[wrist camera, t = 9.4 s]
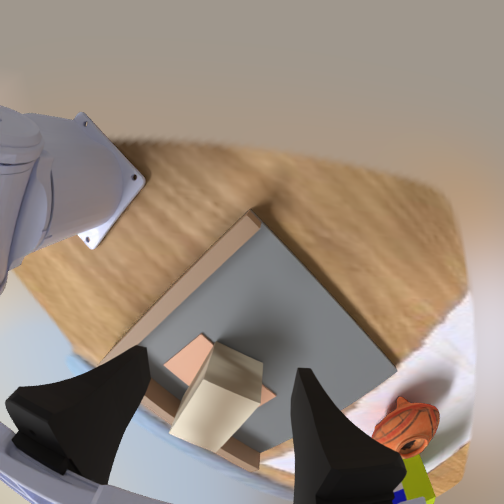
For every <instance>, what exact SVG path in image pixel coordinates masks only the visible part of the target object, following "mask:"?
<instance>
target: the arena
mask: <svg viewBox="0 0 504 504" xmlns="http://www.w3.org/2000/svg"><path fill="white" fill-rule="evenodd" d="M216 341H217V342H219V343H221V344H223V345H225V346H227V347H229V348H231V349H234V350H236V351H238V352H240V353H242V354H244V355H246V356H248V357H251V358H253V359H255V360H257V361H260V362H262V363H263V375H262V391H261V404H260V405H259V406H258V407H257V409H256V410H255V411H254V412H253V413H252V414H251V415H250V416H249V418H248V419H247V420H246V421H245V422H244V423H243V424H242V425H241V426H240V428H239V429H238V430H237V431H236V432H235V433H234V434H233V435H232V436H231V437H230V438H229V439H228V440H227V441H226V442H225V444H224V445H223V446H222V447H221V448H220V449H219V450H218V451H217V452H216V454H218V455H219V456H221V457H223V458H225V459H227V460H228V461H230V462H232V463H234V464H236V465H238V466H239V467H241V468H243V469H245V470H247V471H249V472H254V471H256V470H259V463H260V453H261V452H264V451H266V450H268V449H270V448H272V447H274V446H277V445H279V444H281V443H283V442H285V441H287V440H289V439H291V438H293V434H292V426H291V417H290V409H291V395H292V391H293V386H294V382H295V377H296V373H297V368H311V369H312V371H313V372H314V374H315V376H316V377H317V379H318V381H319V382H320V384H321V386H322V387H323V389H324V390H325V391H326V393H327V394H328V396H329V397H330V398H331V400H332V401H333V402H334V404H335V405H336V406H337V407H338V408H339V410H340V411H341V410H342V409H344V408H346V407H347V406H349V405H350V404H352V403H353V402H355V401H356V400H358V399H359V398H361V397H362V396H364V395H365V394H367V393H368V392H370V391H371V390H373V389H374V388H375V387H377V386H378V385H380V384H381V383H382V382H384V381H385V380H387V379H388V378H389V377H391V376H392V375H393V374H395V373H396V372H397V369H396V367H395V366H394V365H393V363H392V362H391V361H390V360H389V359H388V358H387V357H386V355H385V354H384V353H383V352H382V351H381V350H380V349H379V347H378V346H377V345H376V344H375V343H374V342H373V341H372V339H371V338H370V337H369V336H368V335H367V334H366V333H365V332H364V330H363V329H362V328H361V327H360V326H359V325H358V324H357V323H356V321H355V320H354V319H353V318H352V317H351V316H350V315H349V314H348V313H347V311H346V310H345V309H344V308H343V307H342V306H341V305H340V304H339V303H338V301H337V300H336V299H335V298H334V297H333V296H332V295H331V294H330V293H329V292H328V291H327V289H326V288H325V287H324V286H323V285H322V284H321V283H320V282H319V281H318V280H317V279H316V277H315V276H314V275H313V274H312V273H311V272H310V271H309V270H308V269H307V268H306V267H305V266H304V265H303V263H302V262H301V261H300V260H299V259H298V258H297V257H296V256H295V255H294V254H293V253H292V252H291V251H290V250H289V249H288V248H287V246H286V245H285V244H284V243H283V242H282V241H281V240H280V239H279V238H278V237H277V236H276V235H275V234H274V233H273V232H272V231H271V230H270V229H269V228H268V226H267V225H266V224H265V223H264V222H263V221H262V220H261V219H260V218H259V217H258V216H257V215H256V214H255V213H254V212H253V211H252V210H251V209H249V210H248V211H247V212H246V213H245V214H244V215H243V216H242V217H241V218H240V219H239V220H238V221H237V222H236V223H235V224H234V225H233V226H232V227H231V228H230V229H229V230H228V231H227V232H225V233H224V234H223V235H222V236H221V237H220V238H219V239H218V240H217V241H216V242H215V243H214V244H213V245H212V246H211V247H210V248H209V249H208V250H207V251H206V252H205V253H204V254H203V255H202V256H201V257H200V258H199V259H198V260H197V261H196V262H195V263H194V264H193V265H192V266H191V267H190V268H189V269H188V270H187V271H186V272H185V273H184V274H183V275H182V276H181V277H180V278H179V279H178V280H177V281H176V282H175V283H174V284H173V285H172V286H171V287H170V288H169V289H168V290H167V291H166V292H165V293H164V294H163V295H162V296H161V297H160V298H159V299H158V300H157V301H156V302H155V303H154V304H153V305H152V307H151V308H150V309H149V310H148V311H147V312H146V313H145V314H144V315H143V316H142V317H141V318H140V319H139V320H138V321H137V322H136V323H135V324H134V325H133V326H132V327H131V328H130V329H129V331H128V332H127V333H126V334H125V335H124V336H123V337H122V338H121V339H120V340H119V341H118V342H117V343H116V344H115V345H114V346H113V348H112V349H111V350H110V351H109V352H108V354H107V355H106V356H105V357H104V358H103V360H102V361H101V362H100V363H99V364H98V366H100V365H102V364H104V363H106V362H108V361H109V360H111V359H113V358H115V357H116V356H118V355H120V354H121V353H123V352H125V351H126V350H128V349H130V348H131V347H133V346H135V345H138V346H143V347H147V353H148V361H149V368H150V375H151V380H150V383H149V386H148V388H147V391H146V393H145V396H144V397H143V399H142V401H141V403H143V404H144V405H145V406H146V407H148V408H149V409H150V410H152V411H153V412H154V413H156V414H157V415H158V416H160V417H161V418H162V419H164V420H165V421H167V422H168V423H169V424H171V425H172V424H173V421H174V418H175V416H176V413H177V411H178V408H179V405H180V403H181V400H182V398H183V396H184V394H185V392H186V391H187V389H188V387H189V386H190V384H191V382H192V381H193V379H194V377H195V376H196V374H197V372H198V371H199V369H200V367H201V365H202V364H203V362H204V360H205V359H206V357H207V355H208V354H209V352H210V350H211V349H212V347H213V345H214V344H215V342H216ZM214 453H215V452H214Z"/></svg>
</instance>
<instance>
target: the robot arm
mask: <svg viewBox="0 0 504 504" xmlns="http://www.w3.org/2000/svg"><path fill="white" fill-rule="evenodd" d="M86 122H88V124H87V126H86ZM135 174H136V175H137V179H136V180H134V179H133V176H134V175H135ZM145 183H146V180H145V178H144V176H143V175H142V174H141V173H140V172H139V171H138V170H137V169H136V168H135V167H134V166H133V165H132V164H131V162H130V161H129V160H128V159H127V158H126V157H125V156H124V155H123V154H122V153H121V152H120V151H119V150H118V149H117V147H116V146H115V145H114V144H113V143H112V142H111V141H110V140H109V139H108V138H107V137H106V136H105V135H104V133H103V132H102V131H101V130H100V129H99V128H98V127H97V126H96V125H95V124H94V123H93V121H92V120H91V119H90V118H89V117H88V116H87V115H86V114H85V113H84V112H80V113H78V114H77V115H76V117H75V118H74V120H70V119H65V118H59V117H54V116H47V115H41V114H34V113H27V114H21V113H19V112H17V111H15V110H12V109H10V108H7V107H4V106H0V295H1V294H2V293H3V291H4V289H5V286H6V283H7V276H8V271H9V270H11V269H13V268H15V267H18V266H20V265H21V263H22V260H23V258H24V257H25V256H26V255H28V254H30V253H32V252H35V251H37V250H39V249H42V248H44V247H47V246H49V245H52V244H54V243H57V242H59V241H62V240H64V239H67V238H69V237H72V236H75V235H77V234H78V235H79V236H80V238H81V239H82V240H83V241H84V242H85V244H86V245H87V246H88V247H89V248H90V249H95V248H97V246H98V245H99V244H100V242H101V241H102V239H103V238H104V237H105V235H106V234H107V233H108V231H109V230H110V228H111V227H112V226H113V224H114V223H115V222H116V220H117V219H118V218H119V217H120V215H121V214H122V213H123V211H124V210H125V209H126V208H127V206H128V205H129V204H130V203H131V201H132V200H133V199H134V198H135V196H136V195H137V194H138V193H139V191H140V190H141V189H142V188H143V187H144V185H145ZM88 237H89V238H90V241H89V240H88ZM150 380H151V375H150V368H149V361H148V353H147V347H143V346H138V345H135V346H133V347H131V348H130V349H128V350H126V351H125V352H123V353H121V354H120V355H118V356H116V357H115V358H113V359H111V360H109V361H108V362H106V363H104V364H102V365H100V366H98V367H96V368H94V369H92V370H90V371H88V372H86V373H84V374H81V375H79V376H76V377H73V378H71V379H67V380H64V381H60V382H56V383H52V384H45V385H39V386H25V387H18V389H17V390H16V391H15V392H14V393H13V394H12V395H11V396H10V397H9V398H8V399H7V400H6V402H5V405H6V409H7V411H8V413H9V415H10V417H11V418H12V420H13V422H14V423H15V425H16V427H17V428H18V430H19V431H18V432H17V434H15V433H14V432H13V431H12V430H11V429H10V428H8V427H7V426H6V425H4V424H3V423H1V422H0V480H1V481H3V482H4V483H5V484H6V485H7V486H9V487H10V488H11V489H13V490H14V491H15V492H17V493H18V494H19V495H20V496H22V497H23V498H24V499H26V500H27V501H29V502H30V503H31V504H171V503H167V502H163V501H160V500H156V499H152V498H149V497H146V496H142V495H139V494H136V493H133V492H130V491H127V490H124V489H121V488H118V487H115V486H112V485H108V480H109V476H110V472H111V469H112V465H113V462H114V458H115V456H116V453H117V450H118V447H119V444H120V442H121V439H122V437H123V434H124V432H125V430H126V428H127V426H128V424H129V422H130V420H131V419H132V417H133V415H134V413H135V412H136V410H137V408H138V406H139V405H140V403H141V401H142V399H143V397H144V396H145V393H146V391H147V388H148V386H149V383H150ZM290 417H291V426H292V434H293V443H294V452H295V485H294V503H293V504H393V502H392V500H393V499H394V498H395V495H394V492H393V491H394V490H395V488H396V487H397V486H398V485H399V484H400V483H401V482H402V481H403V479H404V478H405V476H406V474H407V470H406V467H405V464H404V461H403V459H402V457H401V455H400V453H399V452H397V451H395V450H392V449H390V448H388V447H386V446H384V445H383V444H381V443H379V442H378V441H376V440H374V439H373V438H371V437H370V436H368V435H367V434H366V433H364V432H363V431H362V430H360V429H359V428H358V427H357V426H355V425H354V424H353V423H352V422H351V421H350V420H349V419H348V418H347V417H346V416H345V415H344V414H343V413H342V412H341V411H340V410H339V408H338V407H337V406H336V405H335V404H334V402H333V401H332V400H331V398H330V397H329V396H328V394H327V393H326V391H325V390H324V389H323V387H322V386H321V384H320V382H319V381H318V379H317V377H316V376H315V374H314V372H313V371H312V369H311V368H297V373H296V377H295V382H294V386H293V391H292V395H291V409H290ZM398 504H426V501H425V498H424V497H419V498H415V499H412V500H408V501H404V502H400V503H398Z"/></svg>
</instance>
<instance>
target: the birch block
mask: <svg viewBox="0 0 504 504" xmlns="http://www.w3.org/2000/svg"><path fill="white" fill-rule="evenodd" d="M262 375H263V363H262V362H260V361H257V360H255V359H253V358H251V357H248V356H246V355H244V354H242V353H240V352H238V351H236V350H234V349H231V348H229V347H227V346H225V345H223V344H221V343H219V342H217V341H216V342H215V344H214V345H213V347H212V349H211V350H210V352H209V354H208V355H207V357H206V359H205V360H204V362H203V364H202V365H201V367H200V369H199V371H198V372H197V374H196V376H195V377H194V379H193V381H192V382H191V384H190V386H189V387H188V389H187V391H186V392H185V394H184V396H183V398H182V400H181V403H180V405H179V408H178V411H177V413H176V416H175V418H174V421H173V424H172V426H171V429H170V432H169V434H171V435H174V436H176V437H178V438H180V439H183V440H185V441H187V442H190V443H192V444H195V445H197V446H200V447H202V448H205V449H207V450H210V451H213V452H215V453H216V452H217V451H218V450H219V449H220V448H221V447H222V446H223V445H224V444H225V442H226V441H227V440H228V439H229V438H230V437H231V436H232V435H233V434H234V433H235V432H236V431H237V430H238V429H239V428H240V426H241V425H242V424H243V423H244V422H245V421H246V420H247V419H248V418H249V416H250V415H251V414H252V413H253V412H254V411H255V410H256V409H257V407H258V406H259V405H260V404H261V391H262Z"/></svg>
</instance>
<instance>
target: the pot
mask: <svg viewBox="0 0 504 504" xmlns="http://www.w3.org/2000/svg"><path fill="white" fill-rule="evenodd" d="M439 415H440V414H439V411H438V409H437V408H436V407H435V406H432V405H430V404H425V403H409V402H408V401H407V400H406V399H405V398H403V397H398V399H397V408H396V410H394V411H393V412H391V413H389V414H388V415H387V416H386V417H385V418H384V419H383V420H382V421H381V422H380V423H379V424H378V425H376V426H375V430H374V432H373V434H372V438H373V439H374V440H376V441H378V442H379V443H381V444H383V445H384V446H386V447H388V448H390V449H392V450H395V451H397V452H399V453H400V455H401V457H402V459H408V458H411V457H414V456H416V455H418V454H420V453H421V452H422V451H423V450H424V449H425V448H426V447H427V445H428V444H429V442H430V441H431V439H432V438H433V437H434V435H435V433H436V431H437V428H438V425H439V419H440V418H439V417H440V416H439Z"/></svg>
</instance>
